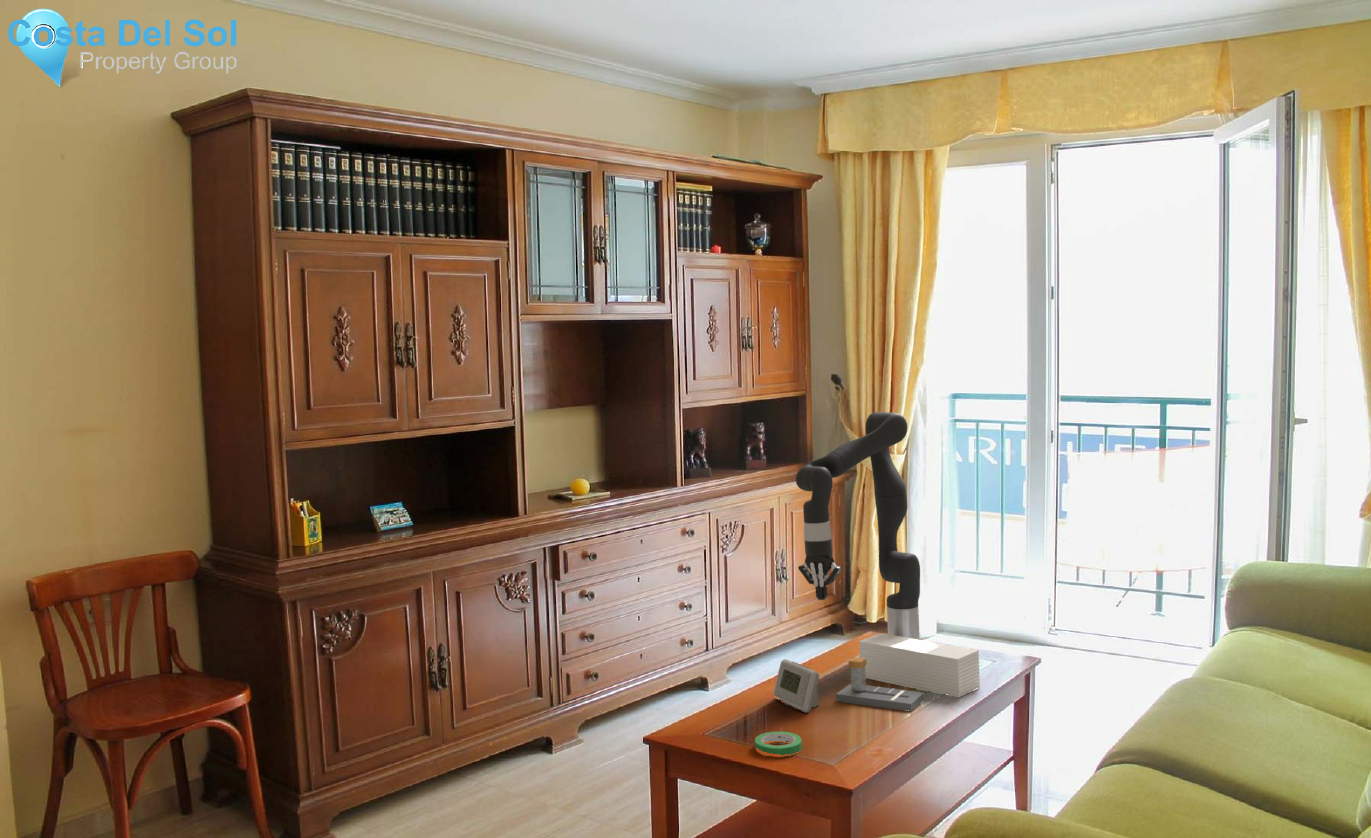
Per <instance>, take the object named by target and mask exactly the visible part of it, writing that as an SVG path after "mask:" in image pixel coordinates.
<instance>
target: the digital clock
mask: <svg viewBox="0 0 1371 838" xmlns="http://www.w3.org/2000/svg"><path fill="white" fill-rule="evenodd" d="M819 677H820V675H819V673H818V672H817V671H816V670H814V669H811V667H808V666H805V665H803V664H800V663H797V662H795V661H792V660H789V659H782V660H781V662H780V664H779V668H778V672H777V676H776V680H775V684H774V690H773V694H774V695H775V696H776V697H778V698H780V700H783V701H784V702H785V703H787V704H789V705H791V706H793V707H795V708H797V709H799V710H801V712H802V713H803V712H804V713H810V711H811V710H812V708H811V707H813V708H817V707H818V706H819V691H818V689H817V688H818V687H817V686H818V681H819ZM773 694H772V695H773ZM816 706H817V707H816Z"/></svg>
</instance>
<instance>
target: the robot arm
mask: <svg viewBox="0 0 1371 838" xmlns="http://www.w3.org/2000/svg"><path fill="white" fill-rule="evenodd" d="M908 427H909V426H908V422H907V419H906V418H905V417H904V416H903V415H902V414H900V413H897V412H886V411H885V412H884V411H883V412H882V411H880V412H879V411H875V412H872V413H870V414H869V415H868V417H867V418H866V421H865V426H864V428H865V434H864V436H861V437H858V438H856V439H852V440H850V441H848V442H845V443H842V444H841V445H839V446H838V447H836V448H835V449H833V450H831V451H830V452H828V453H827V454H826V455H824V456H823V457H819V458H817V459H815V460H813V461H810V462H808V463H806V464H804V465H803V466H802V467H800V468H799V470H798V471H797V473H796V475H795V483H796V486H797V487H798V488H799V489H800V490H802V491H805V492H812V493H811V499H809V500H807V501H805V502H804V504H803V507H802V509H803V513H802V514H803V539H804V540H803V541H804V554H805V559H804V562H803V563H802V564H801V565H799V566H798V570H799V572H800V573H801V574H802V576H803V577H804V579H805V580H806V581H807V583H808V584H809V585H813V586H814V587H815V597H816V598H817V600H818V601H820V600H821V601H824V600H826V599H827V597H828V586H829V585H832V584H833V583H834V581H835V580H836V579H837V577H838V576H839V574H840V572H841V571H842V570H843V568H842V566H840V565H837V564H836V563H835V559H834V558H833V541H832V540H833V539H832V528H831V523H830V510H829V505H830V502H831V501H830V500H831V496H832V490H833V484H834V483H833V478H835V479H836V478H840V476H842V475H844V474H845V473H846V472H848V471H849V470H851V469H852V468H854V467H855V466H857V465H858V464H860V463H862V462H863V461H864V460H866V459H868V458H870V464H871V471H872V479H873V487H874V490H873V491H874V501H875V503H874V504H875V508H876V509H875V510H876V517H877V529H878V530H877V533H878V570H879V573H880V576H881V578H882V579H883V580H884V581H885V582H889V583H894V584H899V587H898V588H899V589H898V591H897V592H895V593H891V594H889V595H888V596H887V597H886V615H887V616H886V618H887V620H886V621H887V634H889V635H895V636H901V637H906V638H912V639H918V640H921V638H920V637H921V635H920V633H921V632H920V616H919V615H920V614H919V613H920V612H919V611H920V610H919V600H920V596H921V564H920V560H919V558H918V557H917V555H916V554H914V553H910V552H909V553H908V552H902V551H898V546H897V545H898V540H897V538H898V532H899V529H900V527H901V525H902V523H903V521H904V519H905V517H906V514H907V511H908V497H907V496H908V495H907V488H906V484H905V482H904V480H903V478H902V476H901V474H900V473H899V471H898V469H897V467H896V465H895V463H894V462H893V459H892V457H891V451H890V447H892V446H894V445H896V444H899V443H900V442H902V441H903V440H904V439H905V437H906V435H907V433H908ZM830 571H831V573H830ZM829 573H830V574H829Z"/></svg>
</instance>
